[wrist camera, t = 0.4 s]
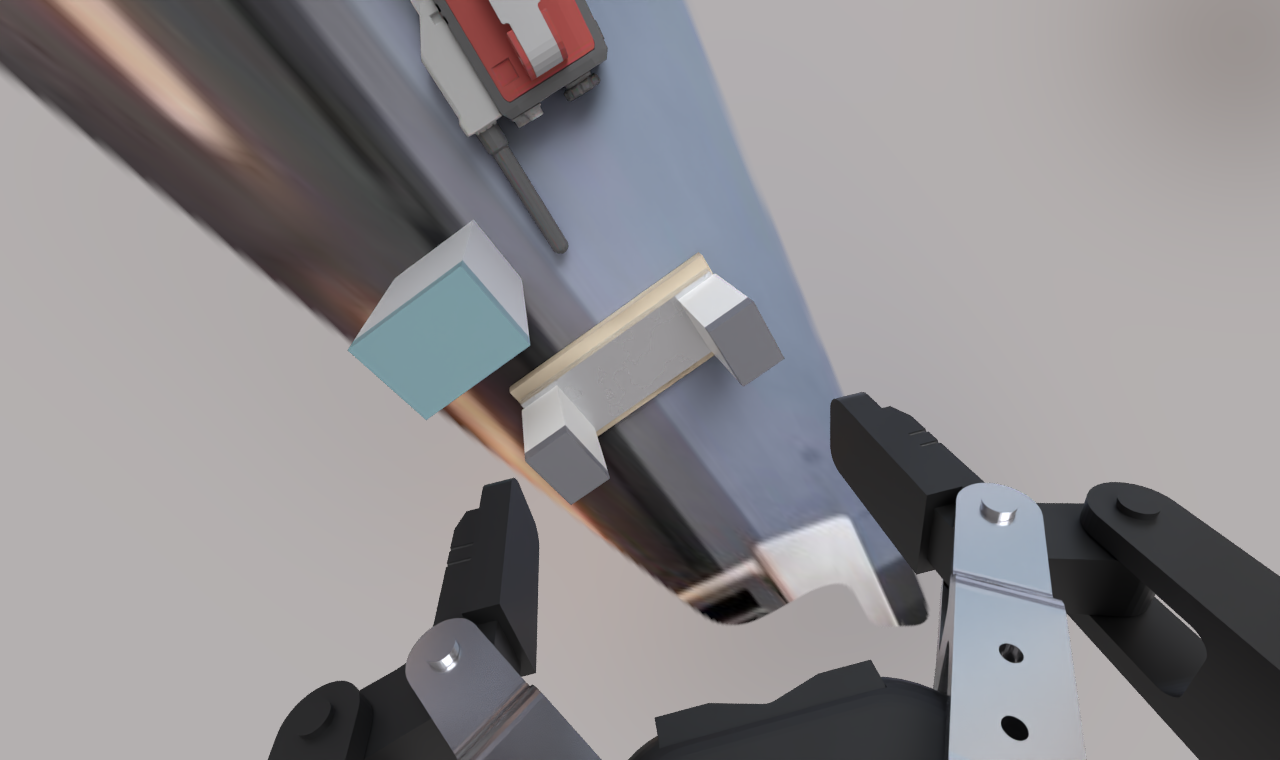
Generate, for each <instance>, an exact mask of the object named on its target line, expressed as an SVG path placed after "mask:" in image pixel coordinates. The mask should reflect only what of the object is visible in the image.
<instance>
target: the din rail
mask: <svg viewBox="0 0 1280 760" xmlns="http://www.w3.org/2000/svg"><path fill="white" fill-rule="evenodd" d="M711 276H712V273H711V271H710V270H708V269H707V268H705V269H704V270H702V271H701V272H699V273H698V274H697V275H695V276H694V277H692V278H691V279H690V280H688V281H687V282H685V283H684V284H683V285H681V286H680V287H678V288H677V289H676V290H674V291H673V292H671V293H670V294H668V295H667V296H666V297H664V298H663V299H661V300H660V301H659V302H657V303H656V304H654V305H653V306H652V307H650V308H649V309H647V310H646V311H645V312H643V313H642V314H640V315H639V316H637V317H636V318H635V319H633V320H632V321H630V322H629V323H628V324H626V325H625V326H623V327H622V328H621V329H619V330H618V331H616V332H615V333H614V334H612V335H611V336H609V337H608V338H606V339H605V340H604V341H602V342H601V343H599V344H598V345H597V346H595V347H594V348H592V349H591V350H590V351H588V352H587V353H585V354H584V355H583V356H581V357H580V358H578V359H577V360H575V361H574V362H573V363H571V364H570V365H568V366H567V367H566V368H564V369H563V370H561V371H560V372H559V373H557V374H556V375H554V376H553V377H552V378H550V379H549V380H547V381H546V382H544V383H543V384H542V385H540V386H539V387H537V388H536V389H535V390H533V391H532V392H530V393H529V394H528V395H526V396H525V397H523V398H522V399H521V400H520V401H521V406H522V407H523V408H526V407H527V406H528V405H530V404H531V403H533V402H534V401H536V400H537V399H538V398H540V397H541V396H543V395H544V394H545V393H547V392H548V391H550V390H551V389H552V388H554V387H555V386H558V387H559V388H560V389H561V390H562V391H563V393H564V394H565V395H566V396H567V397H568V398H569V399H570V401H571V402H572V403H573V404H574V405H575V406H576V407H577V408H578V410H579V411H580V412H581V413H582V414H583V415H584V416H585V417H586V419H587V420H588V421H589V422H590V423H591V424H592V425H593V426H594V428H595V431H596V432H597V431H598V430H599V429H601V428H602V427H604V426H605V425H607V424H608V423H610V422H611V421H612V420H614V419H615V418H617V417H618V416H620V415H621V414H622V413H624V412H625V411H627V410H628V409H630V408H631V407H633V406H634V405H635V404H637V403H638V402H640V401H641V400H643V399H644V398H646V397H647V396H648V395H650V394H651V393H653V392H654V391H656V390H657V389H658V388H660V387H661V386H663V385H664V384H666V383H667V382H669V381H670V380H671V379H673V378H674V377H676V376H677V375H679V374H680V373H682V372H683V371H684V370H686V369H687V368H689V367H690V366H692V365H693V364H694V363H696V362H697V361H699V360H700V359H702V358H703V357H705V356H706V355H707V354H709V353H710V352H712V351H711V350H710V349H709V348H708V346H707V345H706V343H705V342H704V340H703V338H702V337H701V335H700V334H699V332H698V331H697V329H696V327H695V326H694V324H693V323H692V321H691V320H690V318H689V316H688V315H687V313H686V312H685V310H684V309H683V307H682V305H681V304H680V302H679V301H678V299H680V298H681V297H682V296H684V295H685V294H687V293H688V292H690V291H691V290H692V289H694V288H695V287H697V286H698V285H699V284H701V283H702V282H704V281H705V280H706V279H708V278H709V277H711Z"/></svg>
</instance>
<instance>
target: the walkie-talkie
mask: <svg viewBox="0 0 1280 760" xmlns="http://www.w3.org/2000/svg"><path fill="white" fill-rule="evenodd" d="M410 1H411V3H412V4H413V6H414V8H415V9H416V11H417V12H418V14H419V16H420V42H421V61H422V63H423V64H424V66H425V67H426V69H427V71H428V72H429V74H430V75H431V77H432V78H433V80H434V81H435V83H436V85H437V86H438V88H439V89H440V91H441V92H442V94H443V95H444V97H445V99H446V100H447V102H448V103H449V105H450V106H451V108H452V109H453V111H454V113H455V114H456V116H457V117H458V119H459V125H460V127H461V128H462V130H463V131H464V133H465V134H466V136H467V137H470V136H471V135H473V134H476V135H477V137H478V138H479V140H480V141H481V143H482V144H483V146H484V147H485V149H486V150H487V152H488V154H490V155H493V157H494V159H495V160H496V162H497V163H498V165H499V166H500V168H501V170H502V171H503V173H504V174H505V176H506V177H507V179H508V180H509V182H510V184H511V185H512V187H513V188H514V190H515V191H516V193H517V195H518V196H519V198H520V199H521V201H522V202H523V204H524V205H525V207H526V209H527V210H528V212H529V213H530V215H531V216H532V218H533V220H534V221H535V223H536V224H537V226H538V227H539V229H540V230H541V232H542V234H543V235H544V237H545V238H546V240H547V241H548V243H549V245H550V246H551V248H552V249H553V251H554V252H556V253H558V254H563V253H565V252H566V251H567V249H568V242H567V240H566V239H565V237H564V235H563V234H562V232H561V231H560V229H559V227H558V226H557V224H556V222H555V221H554V219H553V218H552V216H551V214H550V213H549V211H548V210H547V208H546V206H545V205H544V203H543V201H542V200H541V198H540V197H539V195H538V193H537V192H536V190H535V188H534V187H533V185H532V184H531V182H530V180H529V179H528V177H527V176H526V174H525V172H524V171H523V169H522V167H521V166H520V164H519V163H518V161H517V159H516V158H515V156H514V155H513V153H512V151H511V150H510V148H509V146H508V143H509V142H508V140H507V138H506V137H505V135H504V134H503V132H502V130H501V129H500V127H499V125H498V124H497V121H496V120H497V119H498V118H500V117H501V116H502V115H503V116H505V117H507V118H509V119H511V120H512V121H513V122H515V123H516V124H517V126H518V128H521V127H522V126H524V125H526V124H527V123H529V122H530V121H533V120H535V119H536V118H538V117H540V116H541V115H542V114H543V111H542V109H541V107H540V106H541V103H539V102H541V101H543V100H545V99H546V98H548V97H549V96H550V95H551V94H553V93H555V92H556V91H558V90H559V89H561V88H563V87H566V88H567V90H566V91H565V93H564V95H565V97H566V99H567V101H573V100H574V99H576V98H577V97H579V96H581V95H583V94H584V93H586V92H588V91H589V90H591V89H592V88H593V87H595V86H596V85H598V84H599V83H600V79H599V77H598V75H597V74H595V73H593V74H591V73H590V71H591V69H593V68H594V67H596V66H597V65H599V64H600V63H602V62H603V61H605V60H607V46H606V44H605V41H604V37H603V35H602V32H601V30H600V28H599V26H598V24H597V22H596V20H594V18H593V16H592V14H591V12H590V9H589V7H588V5H587V3H586V1H585V0H410ZM434 3H435V4H434ZM447 24H448V25H447ZM448 26H449V27H448Z"/></svg>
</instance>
